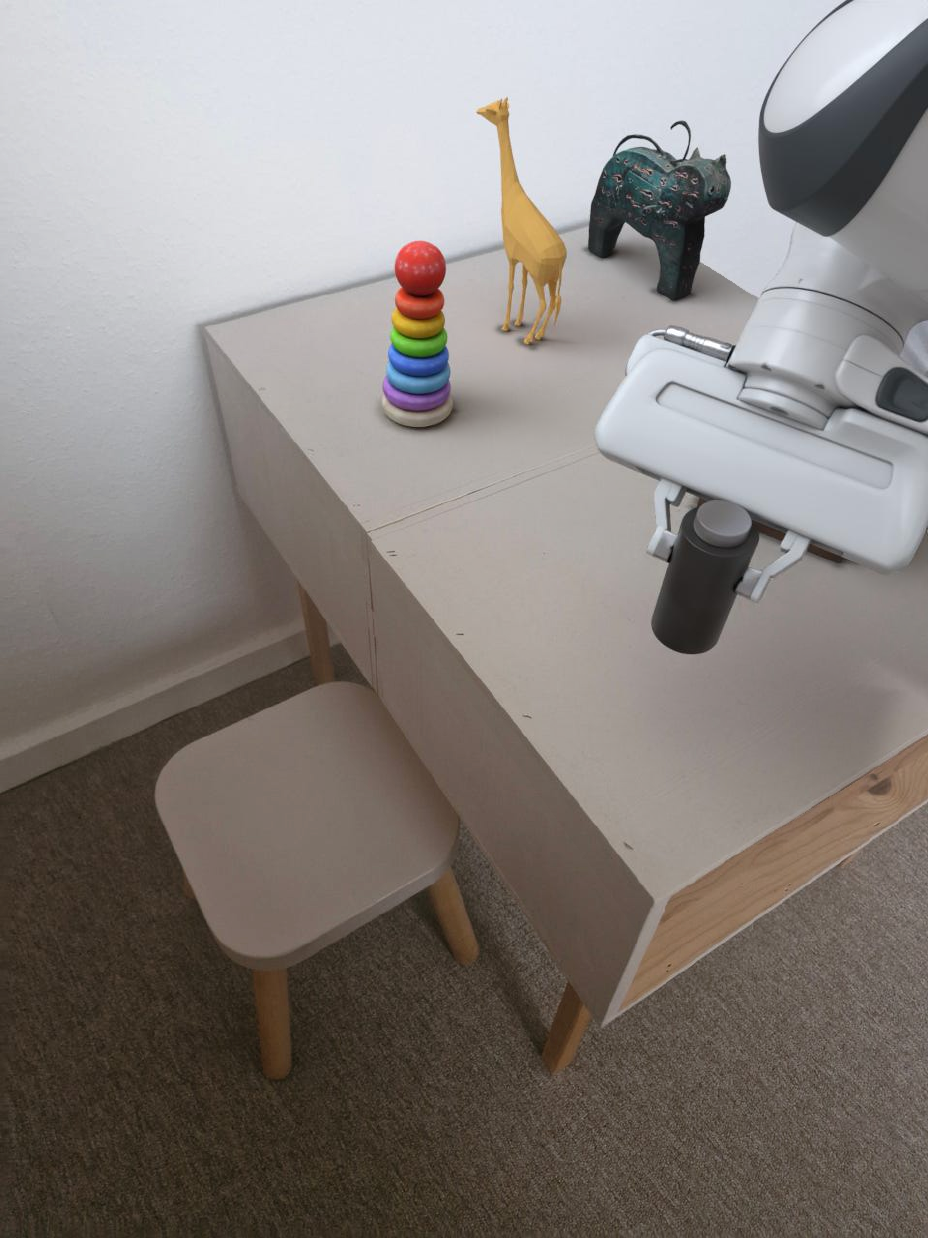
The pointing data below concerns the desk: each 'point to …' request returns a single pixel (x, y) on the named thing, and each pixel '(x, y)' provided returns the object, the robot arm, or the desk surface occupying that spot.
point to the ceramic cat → (659, 206)
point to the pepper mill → (703, 576)
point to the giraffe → (525, 231)
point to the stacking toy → (418, 341)
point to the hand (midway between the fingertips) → (701, 578)
